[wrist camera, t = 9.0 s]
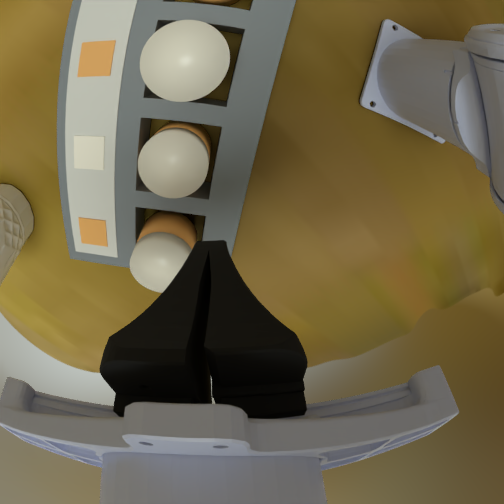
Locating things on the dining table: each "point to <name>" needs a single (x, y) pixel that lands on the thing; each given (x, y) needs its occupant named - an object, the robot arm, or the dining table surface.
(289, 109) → the dining table surface
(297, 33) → the dining table surface
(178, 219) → the button
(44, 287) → the dining table surface
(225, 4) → the button
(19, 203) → the white cup
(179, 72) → the button
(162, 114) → the board
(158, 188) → the button
